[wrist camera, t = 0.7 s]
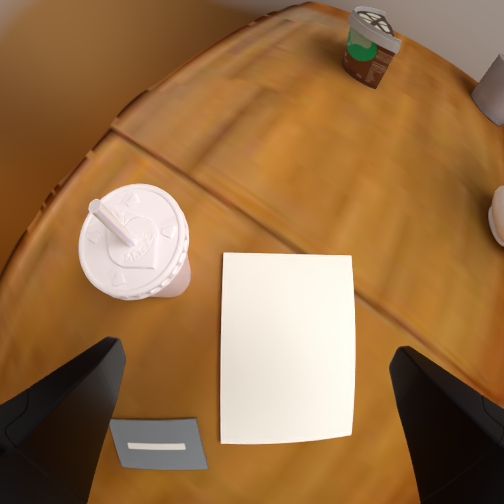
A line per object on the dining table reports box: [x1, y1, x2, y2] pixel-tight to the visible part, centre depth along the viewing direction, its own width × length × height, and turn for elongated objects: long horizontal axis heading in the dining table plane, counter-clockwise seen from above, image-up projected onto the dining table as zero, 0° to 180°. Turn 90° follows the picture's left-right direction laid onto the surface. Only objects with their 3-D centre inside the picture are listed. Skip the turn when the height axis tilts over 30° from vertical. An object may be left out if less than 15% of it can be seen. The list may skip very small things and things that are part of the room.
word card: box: [109, 418, 208, 470], centre depth 18 cm, size 5×8×1 cm, turn 99°
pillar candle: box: [471, 54, 504, 126], centre depth 28 cm, size 10×10×15 cm
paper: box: [220, 253, 355, 444], centre depth 21 cm, size 16×11×1 cm
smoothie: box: [79, 184, 191, 300], centre depth 16 cm, size 6×6×14 cm
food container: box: [342, 7, 402, 89], centre depth 28 cm, size 12×6×10 cm, turn 169°
